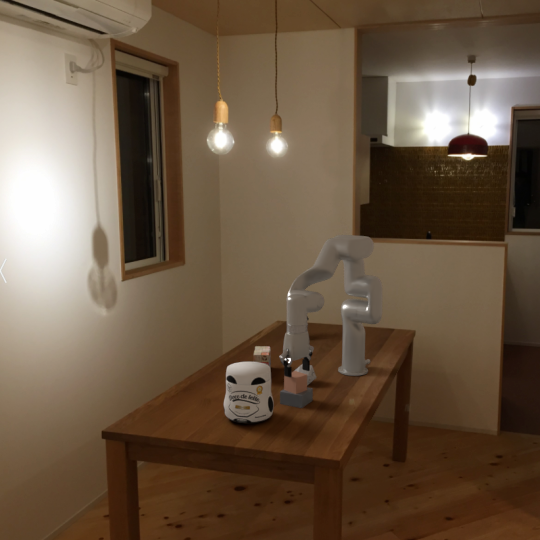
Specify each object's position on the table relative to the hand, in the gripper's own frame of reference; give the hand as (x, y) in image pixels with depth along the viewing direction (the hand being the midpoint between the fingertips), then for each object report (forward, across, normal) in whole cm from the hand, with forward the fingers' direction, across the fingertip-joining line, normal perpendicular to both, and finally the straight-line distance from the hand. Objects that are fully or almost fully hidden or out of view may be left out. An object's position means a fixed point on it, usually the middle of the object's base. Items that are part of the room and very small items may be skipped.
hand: (297, 373), depth 233 cm
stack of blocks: (+12, -12, -31) cm, 36 cm away
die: (+12, -17, -12) cm, 24 cm away
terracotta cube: (+6, +1, 0) cm, 6 cm away
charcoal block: (+11, +1, 0) cm, 11 cm away
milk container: (+11, +24, -1) cm, 26 cm away
